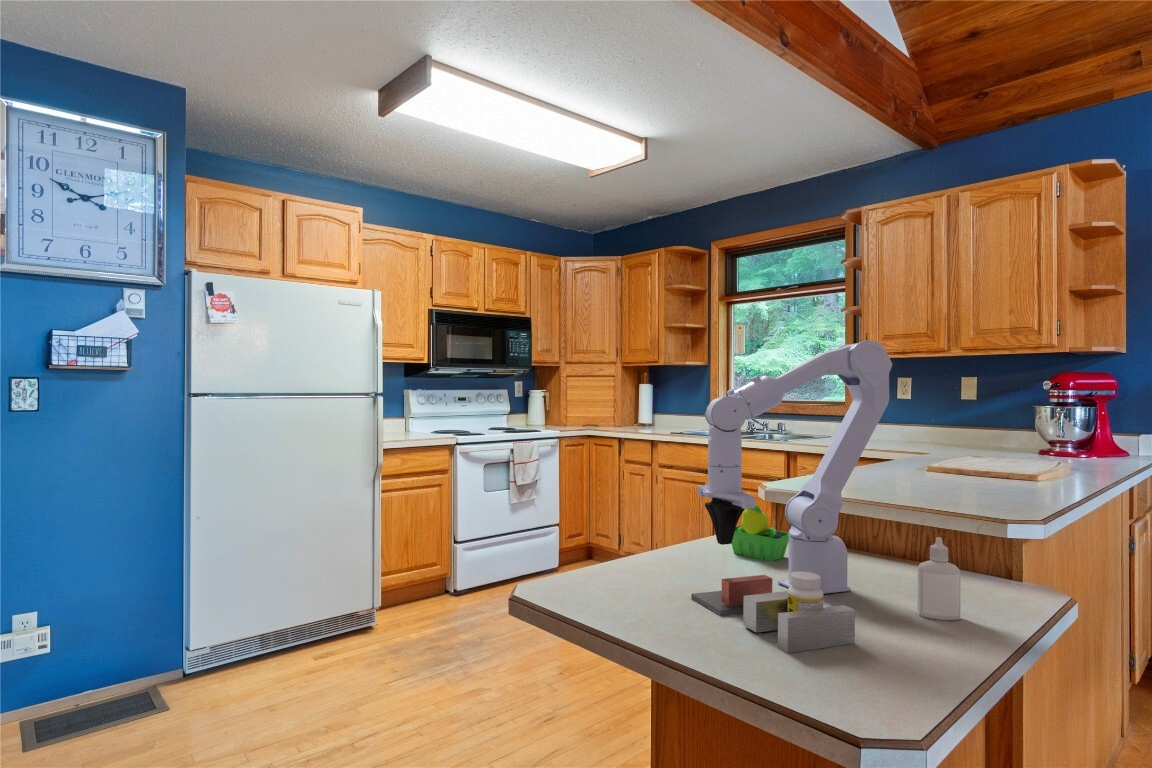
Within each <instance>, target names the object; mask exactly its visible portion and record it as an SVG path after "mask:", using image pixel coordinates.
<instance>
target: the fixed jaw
mask: <svg viewBox="0 0 1152 768" xmlns="http://www.w3.org/2000/svg"><path fill="white" fill-rule="evenodd" d="M855 631H856V609H854V608H851V607H850V606H847V605H844V604H843V605H833V606H828V607H827V606H826V607H823V608H817V609H809V610H801V611H793V612H785V613H778V630H777V648H778V649H780V650H781V651H783V652H785V653H786V654H790V653H791V654H793V653H798V652H804V651H811V650H817V649H825V648H831V647H839V646H845V645H846V646H847V645H852V644H855V642H856V641H855V640H856V638H855V636H856V632H855Z"/></svg>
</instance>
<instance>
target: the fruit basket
mask: <svg viewBox="0 0 1152 768" xmlns="http://www.w3.org/2000/svg"><path fill="white" fill-rule="evenodd" d="M768 524H769V517H768V515H767V514H766V513H765V512H764V511H763V510H761V507H759V505H758V504H756V503H755V508H750V509H745V510H744V511H743V513H742V515H741V525H738V526H737V525H736V529H735V532H734V536H733V540H732V544H731V546H732V551H733V554H735V553H736V554H737V555H740V554H741V556H744V557H750V558H753V559H754V558H755V559H758V558H759V559H760V560H765V561H769V562H774V561H778V560H780V559H781V558H784V557H785V555H786V551H787V547H788V545H789V531H788V532H787V531H781V530H777V529H775V528H774V527H773V526H770V527H768ZM736 554H735V555H736Z"/></svg>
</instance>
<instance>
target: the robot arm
mask: <svg viewBox="0 0 1152 768" xmlns="http://www.w3.org/2000/svg"><path fill="white" fill-rule="evenodd" d="M892 367H893V362H892V360H891V358H890V356H889V354H888V352H887V350H886V348H885V347H884V346H883V345H882V344H881V343H879V342H877V341H875V340H871V339H870V340H863V341H860V342H857V343H852V344H851V343H850V344H849V343H848V344H843V345H840V346H839V347H837V348H833V349H830V350H827V351H825V352H822V353H819V354H817V355H816V356H813V357H812V358H810V359H808V360H806V361H804V362H802V363H800V364H798V365H797V366H795V367H792V368H791V369H789V370H787V371H786V372H784V373H782V374H780V375H778V376H777V377H772V376H769V375H763V376H762V375H761V377H760V375H754V376H752V377H751V378H750V382H749V383H747V384H745V385H743V386H741V387H739V388H737V389H735V390H734V389H729V390H727V391H726V393H727V396H723V397H717V398H715V399H712V400H711V401H710V402H709V404H708V405H707V406H706V411H705V412H704V417H705V420H706V423H707V424H708V425H709V426H708V428H709V429H708V439H707V443H708V445H707V453H708V454H707V456H708V457H707V466H708V467H707V473H708V475H707V476H708V477H707V484H703V485H701V484H700V485H699V484H698V485H697V497H699V498H700V497H704V498H709V499H711V501H710V502H708V501H707V502H705V503H704V507H705V509H706V510H707V512H708V514H709V516H710V517H709V518H710V519H711V522H712V525H713V529H714V534H715V538H716V541H717V544H719V545H722V546H724V545H732V540H733V536H734V532H735V529H736V527H737V525H738V522H739V520H740V518H741V517H742V515H743V511H744V510H745V509H750V508H755V504H756V499H755V498H756V496H754V495H751V494H748V493H746V492H744V491H743V490H742V485H743V484H742V482H743V479H742V471H743V469H742V467H743V466H742V460H743V459H742V449H743V448H742V426H744V424H745V422H746V420H747V421H750V420H752V419H754V418H756V417H758V416H759V415H763V414H764V413H767V411H770V410H771V409H774V408H777V406H780V405H781V403H782V402H783V398H784V396H785V394H787V393H789V392H792V391H794V390H796V389H798V388H800V387H802V386H805V385H807V384H808V383H811V382H814V381H815V380H817V379H820V378H822V377H824V376H837V377H838V378H839V379H840V380H841V381H842V383H844V385H845V386H847V389H848V391H849V394H850V397H851V398H852V402H851V403H850V406H849V408H848V409H847V412H846V413H845V415H844V416H843V419H842V420H841V423H840V425H839V426H838V429H837V431H836V433H835V434H834V435H833V438H832V440H831V442H830V444H829V446H827V449H826V451H825V454H823V456H822V459H821V460H820V462H819V464H818V466H817V468H816V470H815V472H814V473H813V476H812V477H811V478H809V480H808V481H806V482H804V484H803V485H802V486H801V487H800V490H799V491H798V492H797V494H795V495H793V496H792V497H790V499H789V500H788V501H787V502H786V505H785V509H784V514H785V518H786V520H787V522H788V523H789V524H790V526H791V527H790V529H789V531H788V533H789V541H788V575H787V576H788V577H787V578H785V579H777V584H780V585H782V586H784V587H786V588H789V587H790V586H792V585H791V584H790V575H791V573H792V572H796V571H803V572H810V573H815V574H817V575H819V576H820V577H821V587H820V588H819V589H820V590H821V591H822V592H823V595H824V594H825V595H826V594H834V593H841V592H842V593H843V592H850V591H851V590H852V587H850V586H848V560H849V558H848V550H847V547H846V545H845V542H844V541H843V539H841V538H840V537H839V536H837V535H834V534H835V532H836V531H837V529H838V525H839V515H840V511H841V509H842V507H843V497H842V495H843V494H842V491H843V490H844V488H845V487H846V484H847V483H848V480H849V478H850V477H851V475H852V472H853V471H854V469H855V468H856V466H857V463H858V462H859V459H860V458H861V456H862V454H863V452H864V450H865V449H866V446H867V444H868V443H869V441H870V439H871V437H872V435H873V433H874V431H875V430H876V428H877V426H878V423H879V422H880V420H881V418H882V416H883V414H884V412H885V411H886V409H887V407H888V405H889V402H890V372H891V370H892Z"/></svg>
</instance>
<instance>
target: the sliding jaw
mask: <svg viewBox="0 0 1152 768" xmlns="http://www.w3.org/2000/svg"><path fill="white" fill-rule="evenodd" d="M721 591H722V596H721V602H723V603H725V604H727V605H738V604H744V609H743V613H742V616H743V617H742V619H743V620H742V621H743V622H742V625H743V626H744V627H745V628H748V629H749V630H751V631H752V632H755V633H762V632H771V631H778V613H785V612H788V590H786V591H785V590H784V591H777V592H776V591H775V592H773V577H770V576H769V575H766V574H760V575H759V574H758V575H750V576H739V577H729V578H728V577H727V578H721Z"/></svg>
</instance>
